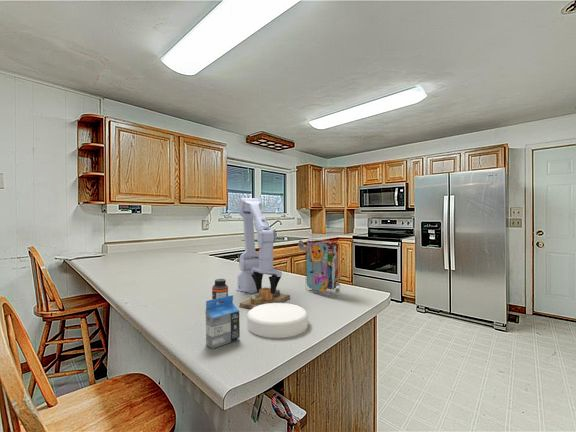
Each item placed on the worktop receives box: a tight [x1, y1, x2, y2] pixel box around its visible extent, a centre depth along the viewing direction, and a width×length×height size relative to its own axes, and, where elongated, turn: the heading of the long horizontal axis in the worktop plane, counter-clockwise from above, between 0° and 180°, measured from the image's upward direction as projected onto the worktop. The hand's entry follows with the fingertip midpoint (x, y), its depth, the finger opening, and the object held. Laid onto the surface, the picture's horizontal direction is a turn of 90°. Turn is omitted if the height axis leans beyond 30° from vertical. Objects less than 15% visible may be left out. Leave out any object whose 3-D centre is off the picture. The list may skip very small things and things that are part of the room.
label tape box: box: [205, 294, 241, 350], centre depth 81 cm, size 9×4×12 cm, turn 133°
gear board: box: [239, 289, 291, 310], centre depth 117 cm, size 11×20×5 cm, turn 149°
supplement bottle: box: [211, 278, 229, 305], centre depth 109 cm, size 6×6×11 cm
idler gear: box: [258, 286, 273, 301], centre depth 117 cm, size 6×6×4 cm
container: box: [246, 302, 309, 339], centre depth 94 cm, size 20×20×5 cm
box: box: [297, 238, 341, 299], centre depth 134 cm, size 25×6×24 cm, turn 39°
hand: (265, 291), depth 117 cm, fingers open, 7 cm apart
